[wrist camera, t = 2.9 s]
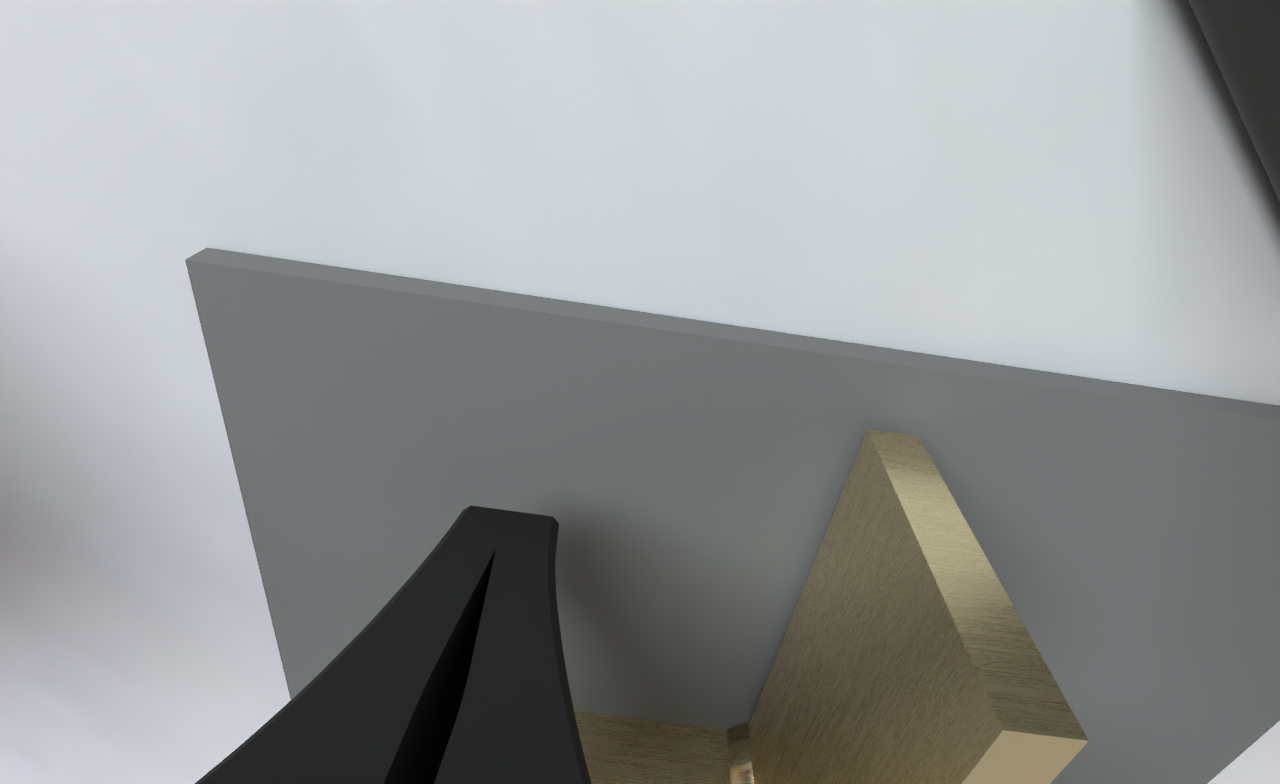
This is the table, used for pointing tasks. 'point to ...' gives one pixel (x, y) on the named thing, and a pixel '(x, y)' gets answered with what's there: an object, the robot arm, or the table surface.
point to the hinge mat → (741, 495)
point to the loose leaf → (907, 649)
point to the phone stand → (1249, 67)
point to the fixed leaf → (663, 751)
